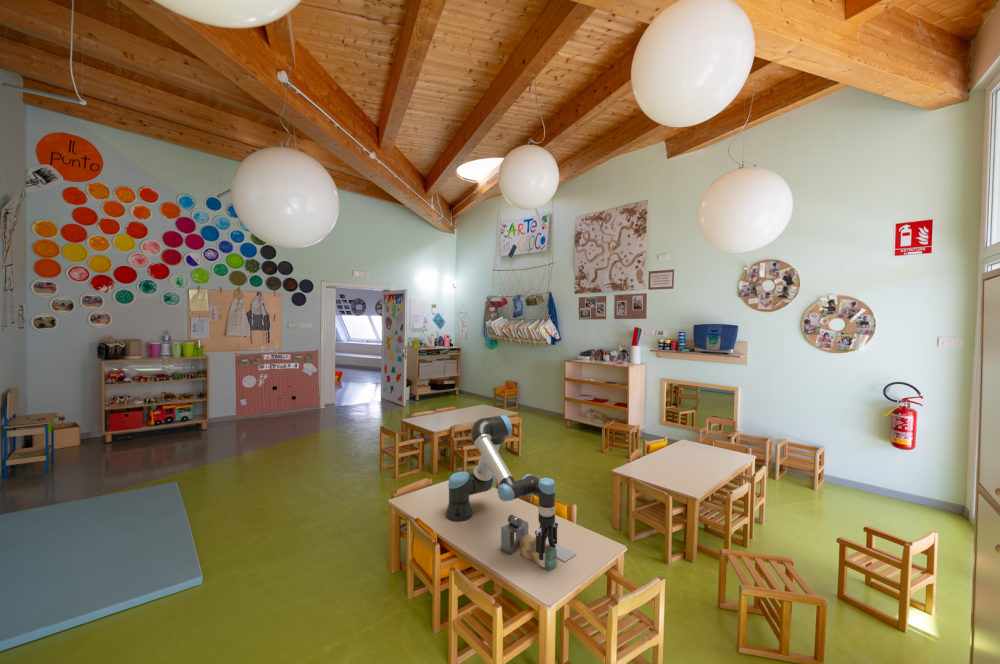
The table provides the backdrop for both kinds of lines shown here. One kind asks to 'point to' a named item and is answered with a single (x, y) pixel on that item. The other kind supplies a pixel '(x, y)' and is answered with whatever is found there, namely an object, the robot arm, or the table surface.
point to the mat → (563, 552)
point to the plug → (530, 552)
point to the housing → (512, 533)
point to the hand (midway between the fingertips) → (546, 563)
